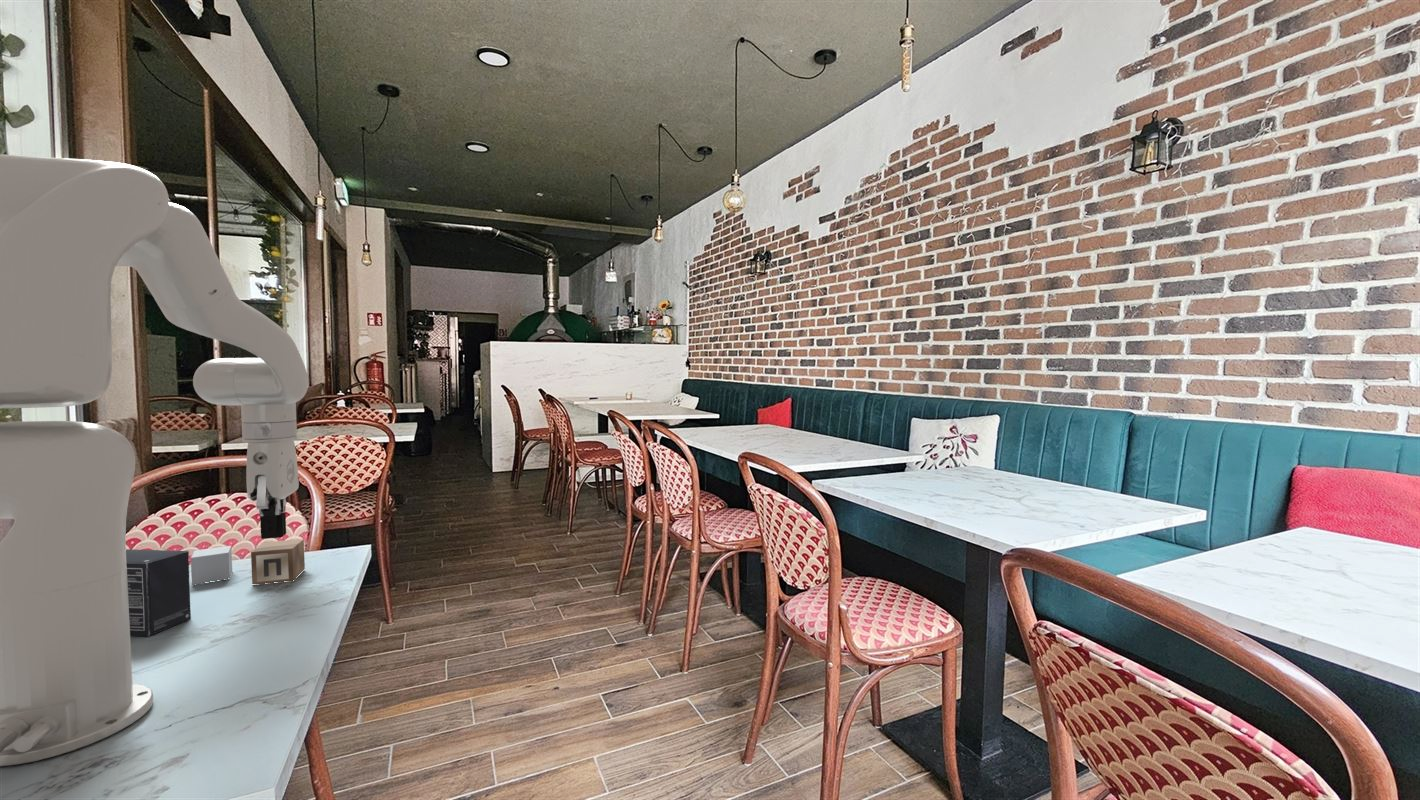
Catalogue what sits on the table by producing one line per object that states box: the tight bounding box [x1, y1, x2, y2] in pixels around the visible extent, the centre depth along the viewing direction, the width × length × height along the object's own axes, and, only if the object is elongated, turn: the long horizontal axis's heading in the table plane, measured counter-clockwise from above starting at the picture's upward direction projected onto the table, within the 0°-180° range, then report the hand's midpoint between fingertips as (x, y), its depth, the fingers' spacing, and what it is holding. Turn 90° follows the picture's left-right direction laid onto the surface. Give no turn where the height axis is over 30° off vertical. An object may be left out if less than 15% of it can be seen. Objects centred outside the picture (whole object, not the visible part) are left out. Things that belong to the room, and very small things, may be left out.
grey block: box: [190, 545, 233, 586], centre depth 103 cm, size 5×5×5 cm
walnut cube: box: [250, 538, 306, 585], centre depth 103 cm, size 6×6×6 cm
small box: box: [126, 548, 192, 638], centre depth 83 cm, size 11×6×10 cm, turn 84°
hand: (273, 536), depth 101 cm, fingers closed
